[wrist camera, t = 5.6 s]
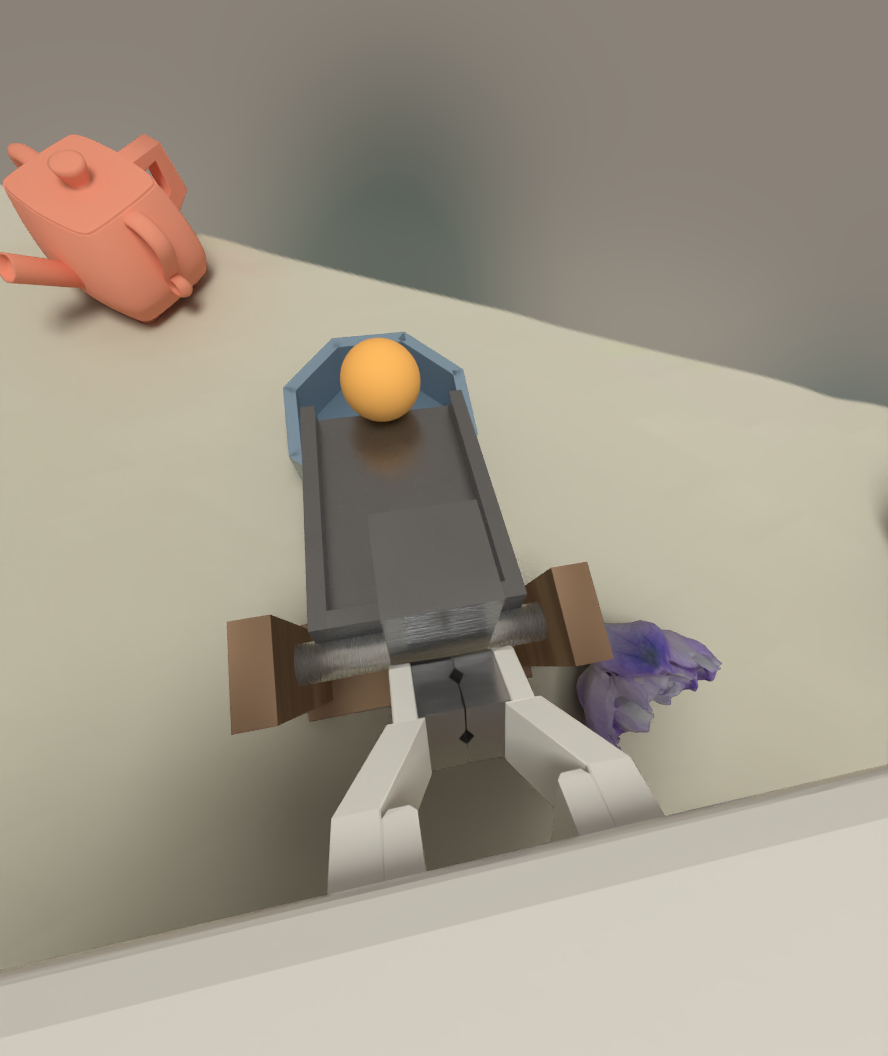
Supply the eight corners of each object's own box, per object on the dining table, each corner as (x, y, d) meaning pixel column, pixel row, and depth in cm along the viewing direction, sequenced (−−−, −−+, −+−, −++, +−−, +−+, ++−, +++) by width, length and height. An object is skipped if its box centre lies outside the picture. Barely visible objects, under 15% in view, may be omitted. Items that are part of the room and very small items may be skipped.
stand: (313, 719, 29) (232, 765, 15) (304, 626, 30) (225, 596, 17) (527, 676, 31) (621, 684, 17) (508, 591, 32) (580, 539, 19)
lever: (306, 744, 17) (160, 664, 8) (297, 447, 25) (222, 235, 16) (556, 692, 18) (688, 571, 9) (471, 426, 26) (495, 220, 17)
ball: (331, 327, 22) (345, 399, 25) (334, 366, 19) (349, 441, 22) (411, 320, 22) (415, 391, 25) (425, 357, 20) (428, 432, 23)
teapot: (68, 349, 35) (-52, 237, 26) (78, 235, 39) (-25, 101, 29) (219, 337, 37) (156, 228, 28) (217, 229, 40) (160, 98, 31)
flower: (520, 619, 25) (706, 732, 20) (589, 549, 31) (750, 624, 25) (504, 710, 31) (646, 817, 26) (564, 638, 36) (692, 714, 31)
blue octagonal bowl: (309, 534, 32) (292, 511, 28) (294, 384, 36) (277, 342, 31) (478, 509, 34) (490, 483, 29) (448, 369, 38) (454, 326, 33)
